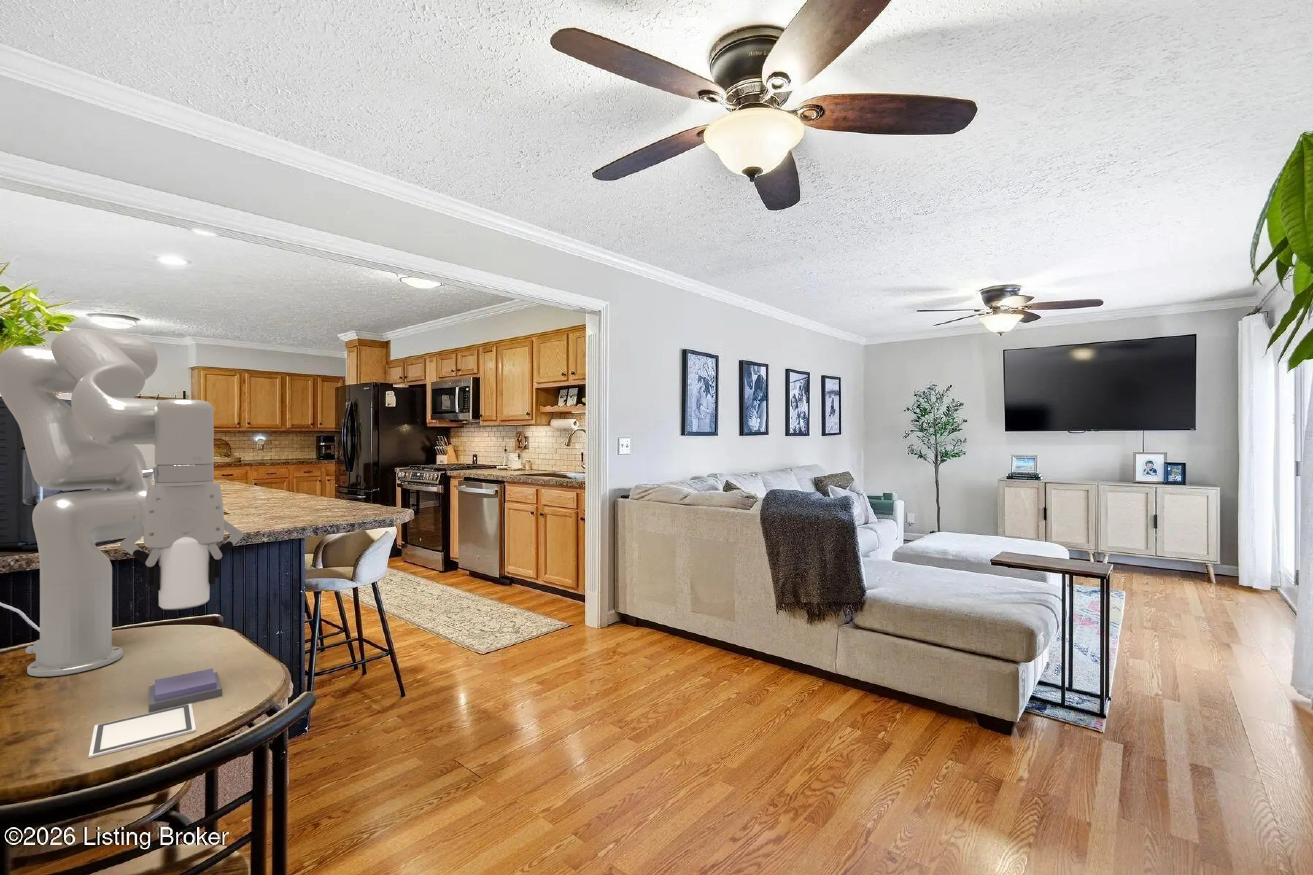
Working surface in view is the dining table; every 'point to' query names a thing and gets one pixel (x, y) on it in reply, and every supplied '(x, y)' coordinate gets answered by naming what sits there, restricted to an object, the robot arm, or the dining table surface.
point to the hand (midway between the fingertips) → (184, 585)
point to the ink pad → (184, 689)
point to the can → (184, 575)
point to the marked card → (141, 730)
